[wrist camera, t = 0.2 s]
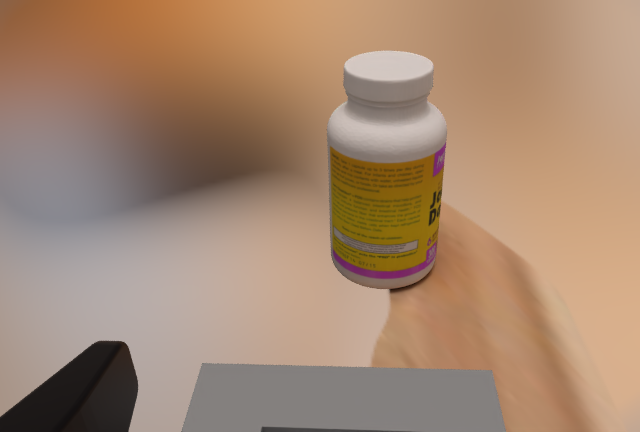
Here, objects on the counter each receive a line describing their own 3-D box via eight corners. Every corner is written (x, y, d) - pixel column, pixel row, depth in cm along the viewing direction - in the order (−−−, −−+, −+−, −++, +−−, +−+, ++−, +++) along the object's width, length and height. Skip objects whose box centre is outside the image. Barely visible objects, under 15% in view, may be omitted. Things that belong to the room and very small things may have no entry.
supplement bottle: (441, 294, 34) (462, 86, 27) (329, 294, 34) (321, 89, 27) (429, 229, 40) (444, 43, 32) (332, 229, 40) (327, 45, 33)
